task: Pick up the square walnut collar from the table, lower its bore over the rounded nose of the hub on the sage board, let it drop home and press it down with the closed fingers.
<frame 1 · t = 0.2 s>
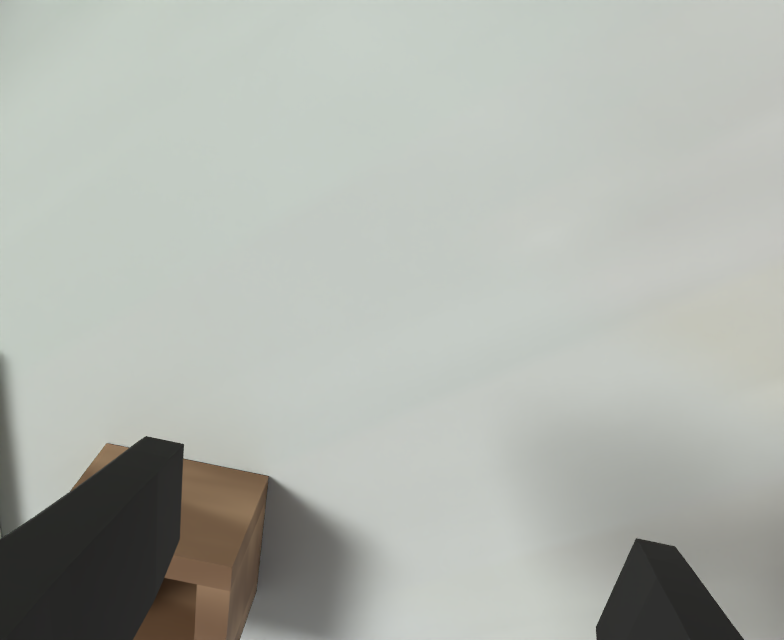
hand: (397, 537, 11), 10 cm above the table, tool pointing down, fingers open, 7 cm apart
collar: (185, 520, 25), on the table
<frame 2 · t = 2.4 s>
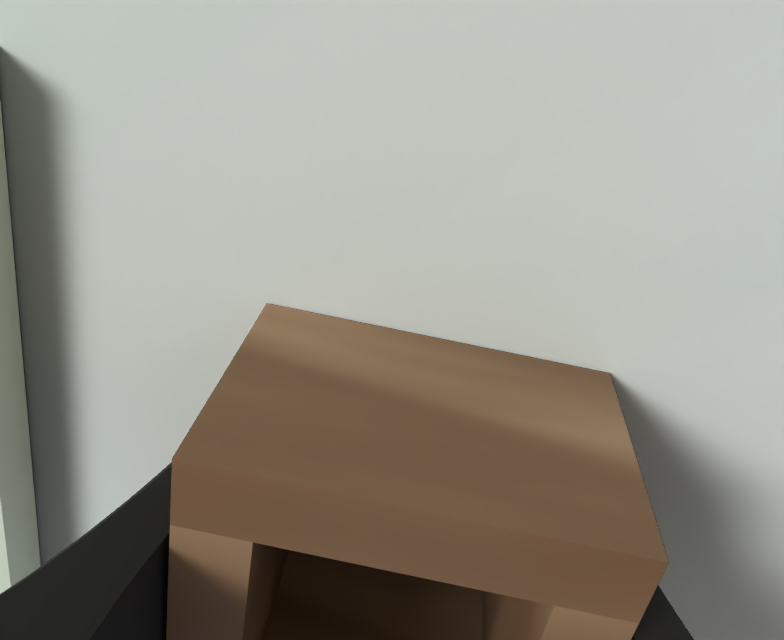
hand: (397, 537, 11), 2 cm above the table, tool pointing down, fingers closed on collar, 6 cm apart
collar: (406, 472, 13), on the table, touching gripper
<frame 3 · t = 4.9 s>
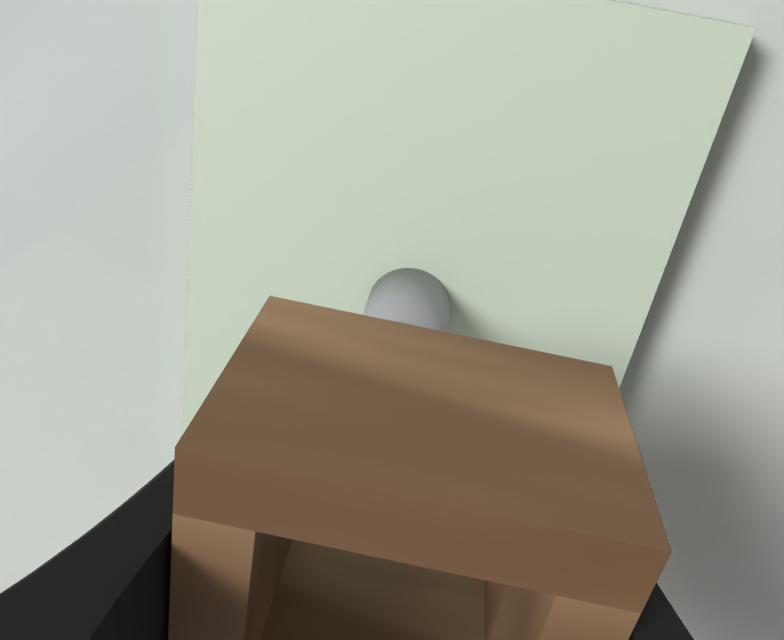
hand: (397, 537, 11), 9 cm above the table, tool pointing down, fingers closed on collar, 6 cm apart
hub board: (412, 290, 20), on the table
collar: (408, 465, 13), point 8 cm above the table, touching gripper
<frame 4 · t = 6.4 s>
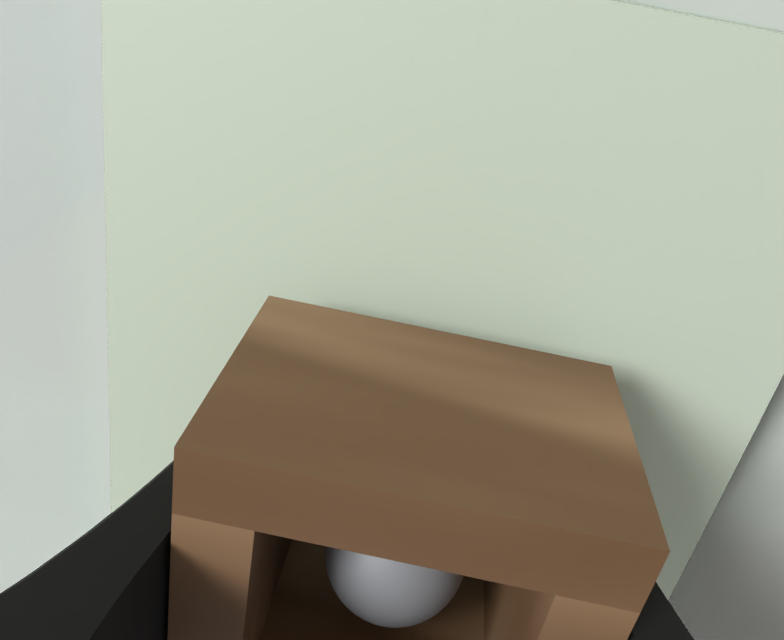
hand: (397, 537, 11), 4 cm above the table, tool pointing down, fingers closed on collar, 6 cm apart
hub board: (415, 406, 15), on the table
collar: (407, 465, 13), point 2 cm above the table, touching gripper
when the fingers open (4 cm above the table, at t = 7.3 s): collar drops 1 cm, resting on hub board.
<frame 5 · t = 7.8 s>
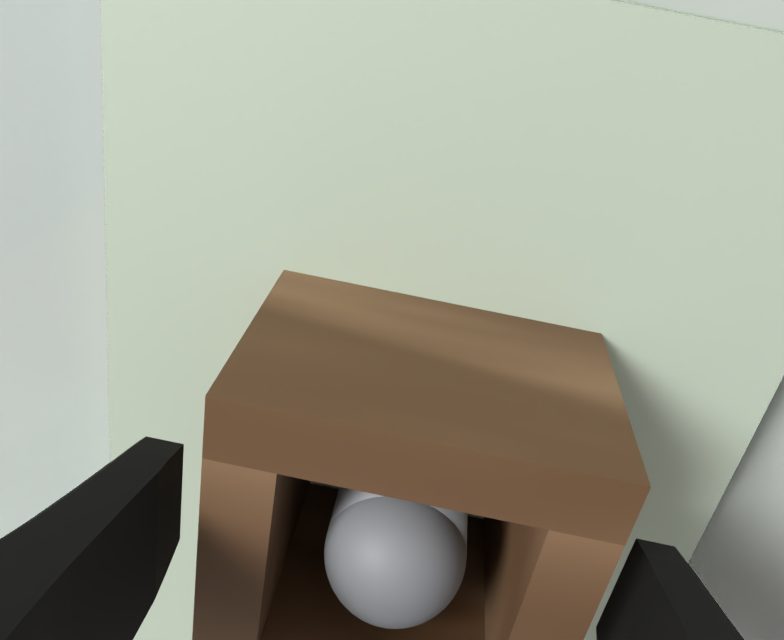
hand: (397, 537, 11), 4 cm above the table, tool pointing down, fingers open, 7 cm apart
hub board: (415, 406, 15), on the table
collar: (412, 430, 14), point 1 cm above the table, touching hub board
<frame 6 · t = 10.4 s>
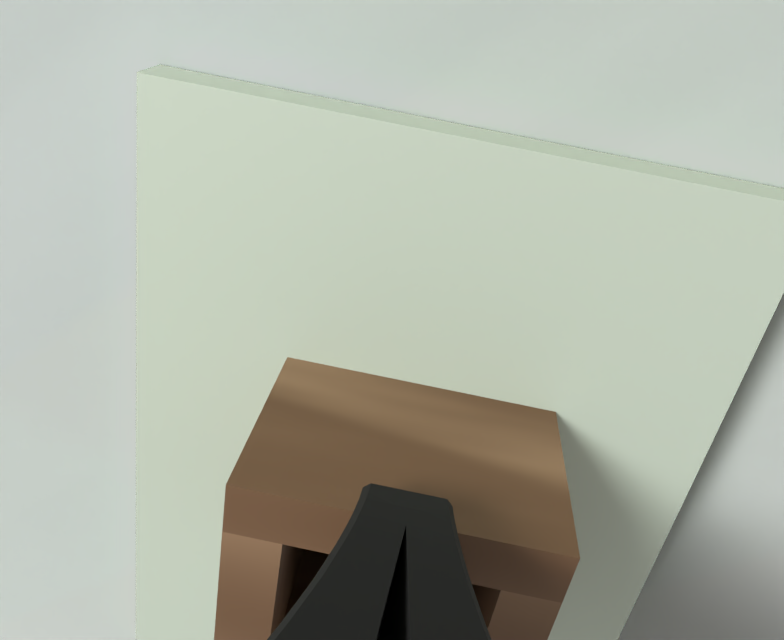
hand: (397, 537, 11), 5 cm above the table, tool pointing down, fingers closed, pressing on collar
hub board: (401, 464, 17), on the table
collar: (397, 488, 16), point 1 cm above the table, touching gripper, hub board
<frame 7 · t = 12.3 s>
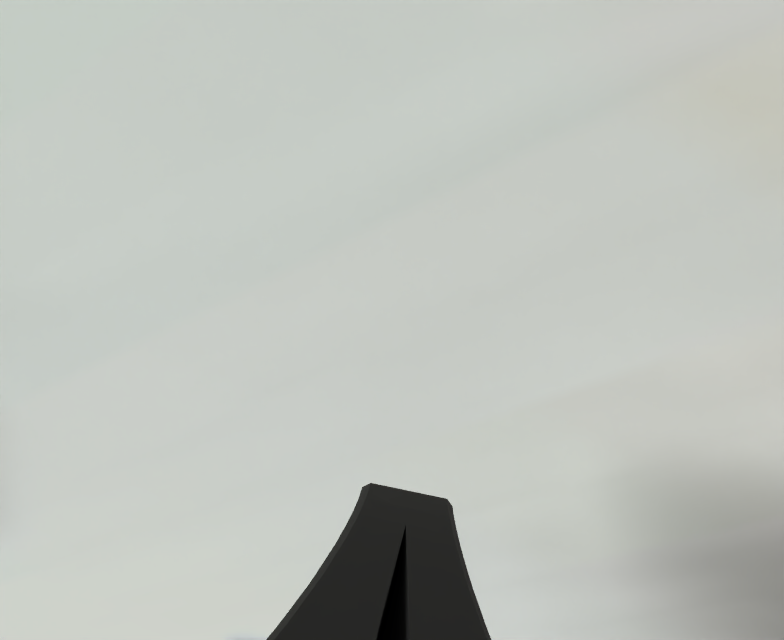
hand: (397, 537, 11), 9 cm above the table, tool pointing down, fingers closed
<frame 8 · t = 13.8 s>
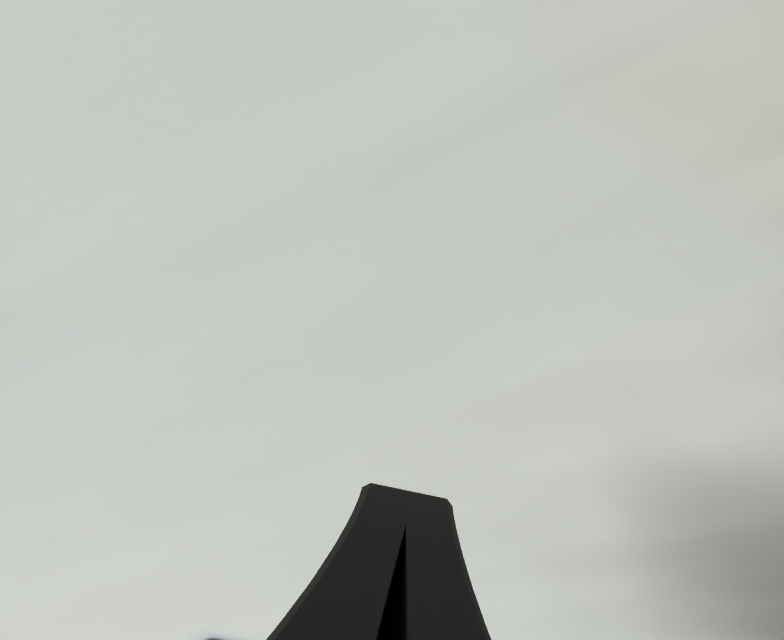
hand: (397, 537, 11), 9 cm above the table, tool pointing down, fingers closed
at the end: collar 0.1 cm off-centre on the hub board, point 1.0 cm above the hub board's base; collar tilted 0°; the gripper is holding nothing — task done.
